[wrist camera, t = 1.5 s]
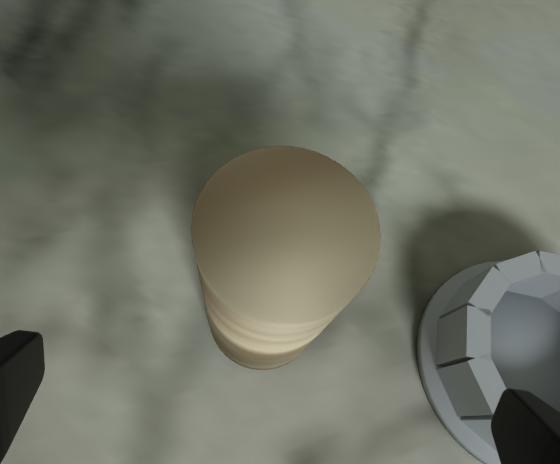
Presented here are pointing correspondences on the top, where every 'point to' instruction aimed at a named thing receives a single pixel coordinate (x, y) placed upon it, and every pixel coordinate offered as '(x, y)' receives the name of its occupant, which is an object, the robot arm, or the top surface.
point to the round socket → (491, 344)
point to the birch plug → (280, 251)
